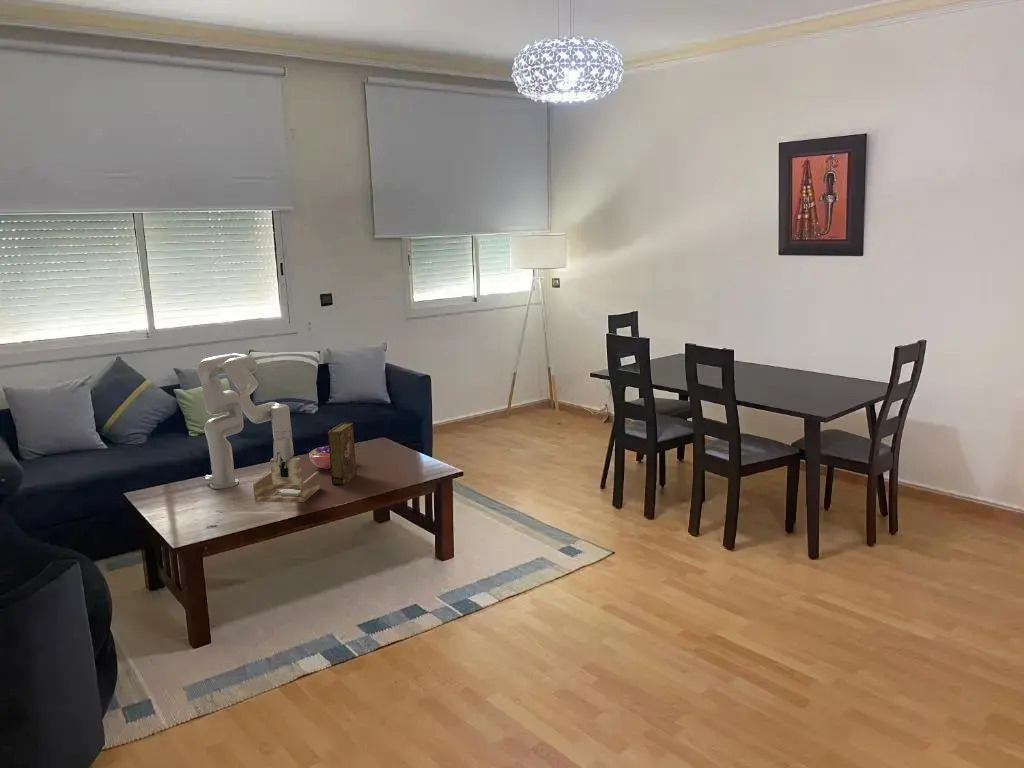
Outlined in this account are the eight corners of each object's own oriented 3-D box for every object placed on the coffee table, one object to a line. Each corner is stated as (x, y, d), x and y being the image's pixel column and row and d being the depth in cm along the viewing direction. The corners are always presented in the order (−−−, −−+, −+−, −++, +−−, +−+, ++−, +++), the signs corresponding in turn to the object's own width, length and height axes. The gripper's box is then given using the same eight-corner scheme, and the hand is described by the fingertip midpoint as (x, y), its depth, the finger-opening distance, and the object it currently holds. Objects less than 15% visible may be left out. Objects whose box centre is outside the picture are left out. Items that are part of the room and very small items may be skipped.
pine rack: (254, 501, 331) (252, 483, 329) (272, 487, 347) (270, 470, 346) (304, 502, 328) (302, 484, 326) (319, 488, 344) (318, 471, 342)
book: (346, 473, 364) (342, 422, 359) (357, 474, 363) (353, 422, 358) (332, 485, 348) (327, 431, 343) (343, 485, 347) (339, 432, 342)
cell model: (303, 468, 375) (301, 445, 372) (339, 458, 388) (338, 437, 385) (320, 475, 362) (318, 452, 360) (357, 465, 375) (355, 443, 373)
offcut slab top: (280, 495, 336) (280, 492, 336) (284, 492, 340) (284, 489, 339) (297, 496, 334) (297, 493, 334) (301, 492, 338) (301, 490, 338)
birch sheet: (272, 484, 329) (270, 459, 327) (275, 482, 332) (273, 457, 330) (299, 484, 328) (297, 460, 325) (302, 482, 331) (299, 457, 328)
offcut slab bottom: (273, 498, 336) (273, 495, 336) (278, 494, 341) (278, 491, 340) (299, 498, 334) (299, 496, 334) (303, 495, 339) (303, 492, 339)
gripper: (282, 428, 334) (286, 469, 338) (265, 439, 318) (269, 481, 322) (298, 428, 333) (302, 469, 337) (282, 439, 317) (286, 482, 321)
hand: (286, 475), depth 329 cm, fingers closed on birch sheet, 3 cm apart
